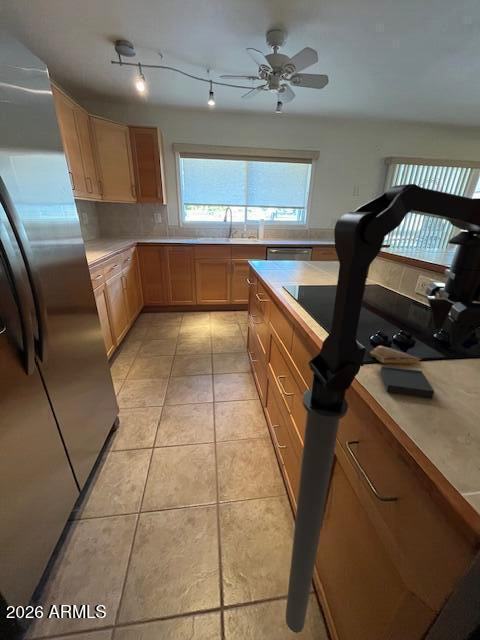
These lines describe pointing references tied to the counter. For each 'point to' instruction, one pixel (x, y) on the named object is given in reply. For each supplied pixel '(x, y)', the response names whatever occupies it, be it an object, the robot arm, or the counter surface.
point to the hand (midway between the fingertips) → (445, 337)
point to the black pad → (406, 382)
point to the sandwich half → (392, 356)
